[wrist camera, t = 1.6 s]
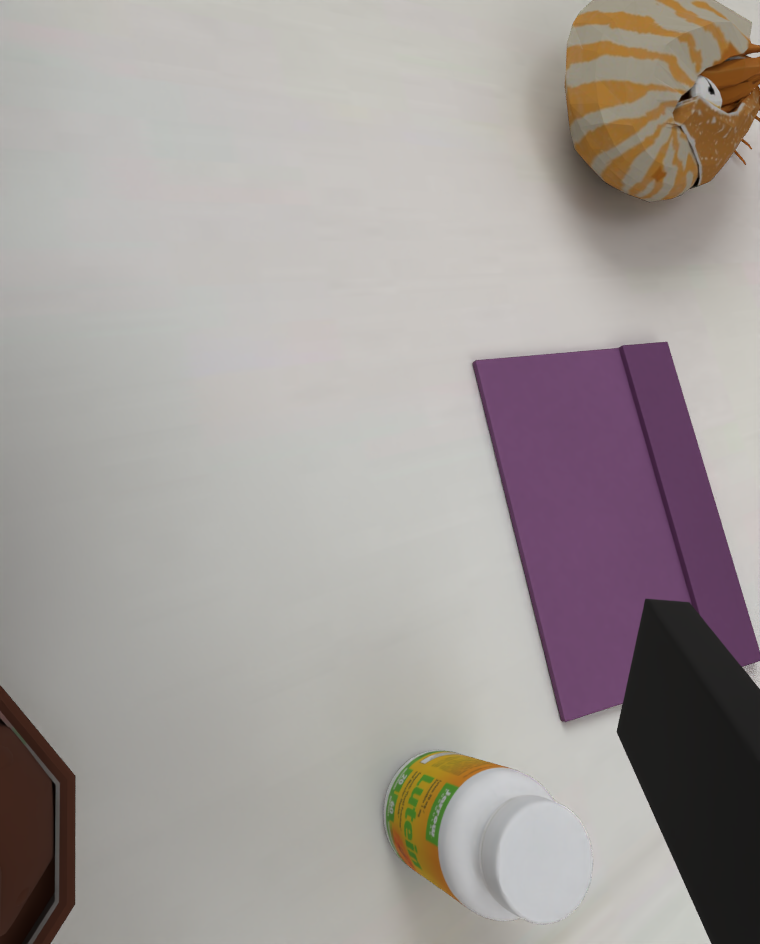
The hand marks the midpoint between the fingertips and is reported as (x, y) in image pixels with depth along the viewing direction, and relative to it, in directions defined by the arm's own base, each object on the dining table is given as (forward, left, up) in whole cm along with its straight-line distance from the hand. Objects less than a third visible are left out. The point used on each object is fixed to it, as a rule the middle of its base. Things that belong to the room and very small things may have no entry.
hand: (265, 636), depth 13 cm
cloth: (-2, +26, -21) cm, 33 cm away
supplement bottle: (+10, +11, -21) cm, 26 cm away
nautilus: (-27, +38, -21) cm, 51 cm away
